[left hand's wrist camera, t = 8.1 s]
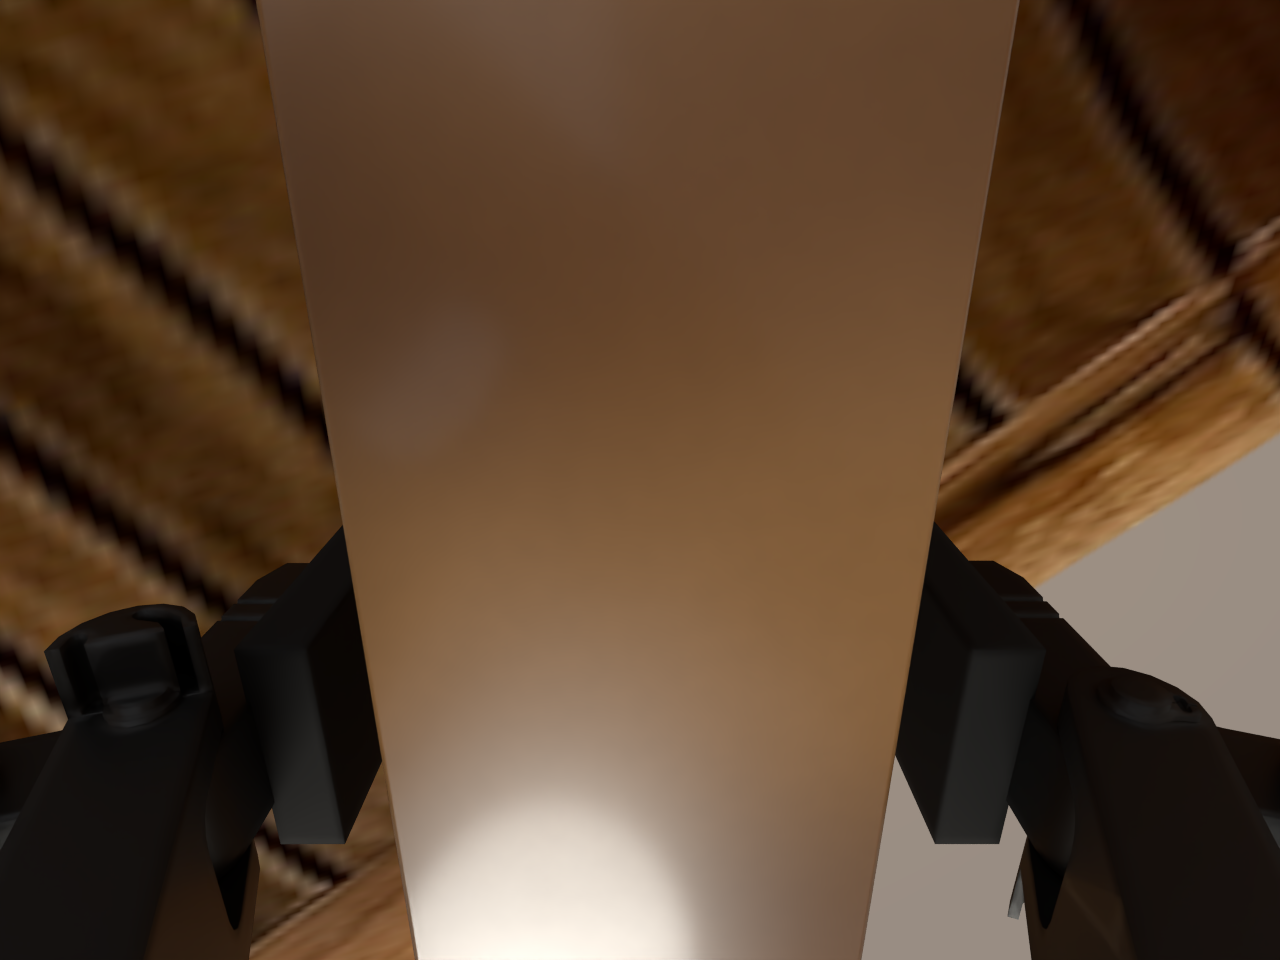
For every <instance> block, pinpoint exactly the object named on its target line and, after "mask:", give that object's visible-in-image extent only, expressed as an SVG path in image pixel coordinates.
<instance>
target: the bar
mask: <svg viewBox="0 0 1280 960" xmlns="http://www.w3.org/2000/svg"><path fill="white" fill-rule="evenodd" d="M1019 1H1020V0H256V4H257V10H258V16H259V22H260V28H261V34H262V40H263V46H264V52H265V58H266V64H267V70H268V76H269V82H270V88H271V94H272V100H273V106H274V112H275V118H276V124H277V130H278V136H279V142H280V148H281V154H282V160H283V166H284V172H285V178H286V185H287V191H288V197H289V203H290V209H291V215H292V221H293V227H294V233H295V239H296V245H297V251H298V257H299V263H300V269H301V275H302V281H303V287H304V293H305V299H306V305H307V311H308V317H309V323H310V329H311V335H312V341H313V347H314V353H315V359H316V365H317V371H318V377H319V383H320V389H321V395H322V401H323V407H324V413H325V419H326V425H327V432H328V438H329V444H330V450H331V456H332V462H333V468H334V474H335V480H336V486H337V492H338V498H339V504H340V510H341V516H342V522H343V528H344V534H345V540H346V546H347V552H348V558H349V564H350V570H351V576H352V582H353V588H354V594H355V600H356V606H357V612H358V618H359V624H360V630H361V636H362V642H363V648H364V654H365V660H366V666H367V672H368V679H369V685H370V691H371V697H372V703H373V709H374V715H375V721H376V727H377V733H378V739H379V745H380V751H381V757H382V763H383V769H384V775H385V781H386V787H387V793H388V799H389V805H390V811H391V817H392V823H393V829H394V835H395V841H396V847H397V853H398V859H399V865H400V871H401V877H402V883H403V889H404V895H405V901H406V907H407V913H408V919H409V926H410V932H411V938H412V944H413V950H414V956H415V960H861V958H862V952H863V946H864V940H865V934H866V928H867V922H868V915H869V909H870V903H871V897H872V891H873V885H874V879H875V873H876V867H877V861H878V855H879V849H880V843H881V836H882V831H883V824H884V819H885V813H886V806H887V800H888V794H889V788H890V782H891V776H892V770H893V764H894V758H895V752H896V746H897V740H898V734H899V728H900V722H901V716H902V710H903V704H904V698H905V692H906V685H907V679H908V673H909V667H910V661H911V655H912V649H913V643H914V637H915V631H916V625H917V619H918V613H919V607H920V601H921V595H922V589H923V583H924V576H925V570H926V564H927V558H928V552H929V546H930V540H931V534H932V528H933V522H934V516H935V510H936V504H937V498H938V492H939V486H940V480H941V474H942V468H943V461H944V455H945V449H946V443H947V437H948V431H949V425H950V419H951V413H952V407H953V401H954V395H955V389H956V383H957V377H958V371H959V365H960V359H961V353H962V346H963V340H964V334H965V328H966V322H967V316H968V310H969V304H970V298H971V292H972V286H973V280H974V274H975V268H976V262H977V256H978V250H979V244H980V237H981V231H982V225H983V219H984V213H985V207H986V201H987V195H988V189H989V183H990V177H991V171H992V165H993V159H994V153H995V147H996V141H997V135H998V129H999V122H1000V116H1001V110H1002V104H1003V98H1004V92H1005V86H1006V80H1007V74H1008V68H1009V62H1010V56H1011V50H1012V44H1013V38H1014V32H1015V26H1016V20H1017V13H1018V7H1019Z"/></svg>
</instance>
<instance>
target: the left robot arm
mask: <svg viewBox="0 0 1280 960" xmlns="http://www.w3.org/2000/svg"><path fill="white" fill-rule="evenodd" d="M44 653H45V656H46V659H47V661H48V664H49V667H50V670H51V673H52V675H53V678H54V681H55V684H56V687H57V689H58V692H59V695H60V698H61V701H62V703H63V706H64V709H65V712H66V715H67V717H68V721H67V723H66V725H65V727H64V728H63V730H61V731H57V732H52V733H47V734H42V735H37V736H32V737H27V738H22V739H17V740H12V741H7V742H2V743H0V960H249V954H250V945H251V937H252V929H253V921H254V913H255V905H256V897H257V889H258V881H259V873H260V866H259V860H258V854H257V850H256V846H255V842H254V837H255V835H256V833H257V832H258V830H259V828H260V827H261V825H262V823H263V822H264V820H265V818H266V817H267V815H268V813H269V811H270V810H271V808H272V809H273V814H274V818H275V822H276V826H277V830H278V834H279V838H280V842H281V844H345V843H346V840H347V838H348V836H349V834H350V831H351V829H352V827H353V825H354V823H355V820H356V818H357V816H358V814H359V811H360V809H361V807H362V805H363V802H364V800H365V798H366V796H367V794H368V791H369V789H370V787H371V785H372V782H373V780H374V778H375V776H376V773H377V771H378V769H379V767H380V765H381V762H382V757H381V751H380V745H379V739H378V733H377V727H376V721H375V715H374V709H373V703H372V697H371V691H370V685H369V679H368V672H367V666H366V660H365V654H364V648H363V642H362V636H361V630H360V624H359V618H358V612H357V606H356V600H355V594H354V588H353V582H352V576H351V570H350V564H349V558H348V552H347V546H346V540H345V534H344V528H343V525H342V527H341V528H340V529H339V530H338V531H337V532H336V533H335V535H334V536H333V537H332V538H331V539H330V540H329V541H328V543H327V544H326V545H325V546H324V547H323V548H322V549H321V551H320V552H319V553H318V554H317V555H316V556H315V557H314V559H313V560H312V561H311V562H310V563H287V564H285V565H283V566H281V567H280V568H278V569H276V570H274V571H272V572H271V573H269V574H267V575H265V576H264V577H262V578H260V579H258V580H257V581H256V582H255V583H254V584H253V585H252V586H251V587H250V588H249V589H248V590H247V591H246V592H245V593H244V594H243V595H242V596H241V597H240V598H239V599H238V604H233V605H232V607H231V608H230V609H229V610H228V611H227V612H226V613H225V614H224V615H223V616H222V620H221V621H217V622H216V623H215V624H214V625H213V626H212V627H211V628H210V629H209V630H208V631H207V632H206V633H205V634H204V635H203V636H202V637H201V636H200V632H199V628H198V624H197V620H196V616H195V614H194V613H192V612H191V611H189V610H188V609H186V608H185V607H182V606H176V605H169V604H154V605H142V606H135V607H131V608H127V609H122V610H118V611H114V612H110V613H107V614H104V615H102V616H99V617H97V618H94V619H92V620H89V621H86V622H84V623H81V624H80V625H78V626H76V627H75V628H73V629H71V630H70V631H68V632H66V633H64V634H63V635H61V636H59V637H58V638H57V639H56V640H55V641H54V642H53V643H52V644H51V645H50V646H49V647H48V648H47V649H46V650H45V651H44ZM895 756H896V758H897V760H898V762H899V765H900V767H901V769H902V771H903V773H904V776H905V778H906V780H907V782H908V785H909V787H910V789H911V791H912V793H913V796H914V798H915V800H916V802H917V805H918V807H919V809H920V811H921V814H922V816H923V818H924V820H925V822H926V825H927V827H928V829H929V831H930V834H931V836H932V838H933V840H934V842H935V844H999V842H1000V838H1001V834H1002V830H1003V826H1004V821H1005V818H1006V814H1007V809H1008V805H1009V806H1010V808H1011V809H1012V811H1013V813H1014V814H1015V816H1016V818H1017V819H1018V821H1019V823H1020V824H1021V826H1022V828H1023V829H1024V831H1025V833H1026V834H1027V838H1026V842H1025V846H1024V850H1023V854H1022V858H1021V862H1020V865H1019V869H1018V873H1017V877H1016V881H1015V884H1014V888H1013V892H1012V896H1011V900H1010V905H1009V911H1008V917H1011V918H1015V919H1019V915H1020V911H1021V907H1022V904H1023V903H1025V911H1026V919H1027V927H1028V935H1029V943H1030V951H1031V959H1032V960H1280V739H1276V738H1271V737H1265V736H1261V735H1255V734H1250V733H1245V732H1240V731H1235V730H1230V729H1225V728H1220V727H1217V726H1216V725H1215V723H1214V721H1213V719H1212V718H1211V717H1210V715H1209V714H1208V713H1207V712H1206V711H1205V709H1204V708H1203V707H1202V706H1201V705H1200V703H1199V702H1197V701H1196V700H1195V699H1193V698H1192V697H1190V696H1189V695H1187V694H1186V693H1184V692H1183V691H1182V690H1180V689H1179V688H1177V687H1175V686H1173V685H1171V684H1169V683H1166V682H1164V681H1162V680H1160V679H1158V678H1155V677H1153V676H1151V675H1147V674H1144V673H1140V672H1136V671H1133V670H1129V669H1125V668H1118V667H1110V666H1109V665H1108V664H1107V662H1105V660H1104V659H1103V658H1102V657H1101V656H1100V655H1099V654H1098V653H1097V652H1096V651H1095V650H1094V649H1093V648H1092V647H1091V646H1090V645H1089V644H1088V643H1087V642H1086V641H1085V640H1084V639H1083V638H1082V637H1081V636H1080V635H1079V634H1078V633H1077V632H1076V631H1075V630H1074V629H1073V628H1072V627H1071V626H1070V625H1069V624H1068V623H1067V622H1066V621H1065V620H1064V619H1063V618H1059V613H1058V612H1057V611H1056V610H1055V609H1054V608H1053V607H1052V606H1051V605H1050V604H1049V603H1048V602H1046V601H1043V597H1042V596H1041V595H1040V594H1039V593H1038V592H1037V591H1036V590H1035V589H1034V588H1033V587H1032V586H1031V585H1030V584H1029V583H1028V582H1027V581H1026V580H1025V579H1024V578H1023V577H1021V576H1020V575H1018V574H1016V573H1014V572H1012V571H1011V570H1009V569H1007V568H1005V567H1004V566H1002V565H1000V564H998V563H996V562H995V561H968V560H967V559H966V557H965V556H964V555H963V554H962V553H961V552H960V551H959V549H958V548H957V547H956V546H955V545H954V544H953V543H952V541H951V540H950V539H949V538H948V537H947V536H946V535H945V533H944V532H943V531H942V530H941V529H940V528H939V527H938V525H937V524H936V523H935V522H933V528H932V534H931V540H930V546H929V552H928V558H927V564H926V570H925V576H924V583H923V589H922V595H921V601H920V607H919V613H918V619H917V625H916V631H915V637H914V643H913V649H912V655H911V661H910V667H909V673H908V679H907V685H906V692H905V698H904V704H903V710H902V716H901V722H900V728H899V734H898V740H897V746H896V752H895Z"/></svg>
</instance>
